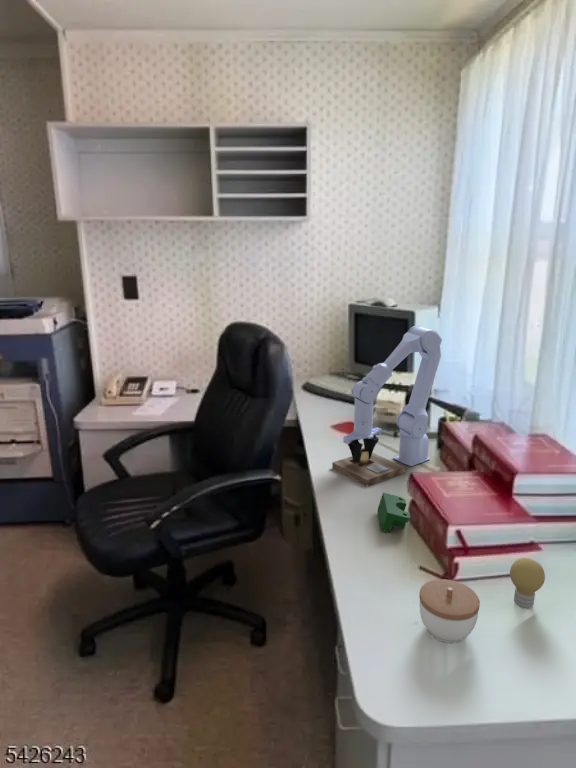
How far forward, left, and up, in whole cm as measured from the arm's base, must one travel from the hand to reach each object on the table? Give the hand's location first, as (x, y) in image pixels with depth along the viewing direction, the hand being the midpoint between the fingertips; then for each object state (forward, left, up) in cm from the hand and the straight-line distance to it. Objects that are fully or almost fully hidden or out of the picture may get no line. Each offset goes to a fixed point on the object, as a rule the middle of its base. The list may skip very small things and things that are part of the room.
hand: (361, 459), depth 176 cm
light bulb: (+20, +69, -3) cm, 72 cm away
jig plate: (0, +3, -3) cm, 4 cm away
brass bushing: (0, 0, -3) cm, 3 cm away
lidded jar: (+39, +65, -3) cm, 76 cm away
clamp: (+17, +31, -3) cm, 35 cm away
